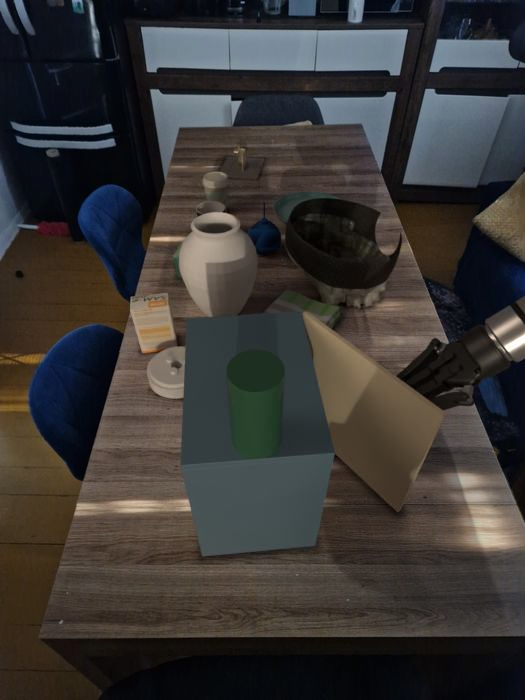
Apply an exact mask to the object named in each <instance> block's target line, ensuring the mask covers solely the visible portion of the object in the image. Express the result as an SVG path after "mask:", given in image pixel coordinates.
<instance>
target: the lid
mask: <svg viewBox="0 0 525 700" xmlns="http://www.w3.org/2000/svg"><path fill="white" fill-rule="evenodd" d="M184 369H185V346H184V345H183V346H181V345H180V346H177V347H172V348H168V349H165V350H163V351H158V353H156V354H155V355H154V356H153V357H152V358H151V359H150V360H149V362H148V364H147V366H146V376H147V379H148V385H149V386H150V388H151V390H152V391H153V392H154V393H155V394H157V395H159V396H161V397H163V398H167V399H183V393H184Z"/></svg>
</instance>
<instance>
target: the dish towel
mask: <svg viewBox="0 0 525 700" xmlns="http://www.w3.org/2000/svg"><path fill="white" fill-rule="evenodd" d="M306 311H307V312H309V313H310V314H311V315H313V316H314V317H315V318H317V319H318V320H320V321H321V322H322V323H324V324H325V325H326V326H328V327H329V328H331V329H333V327H334V326H335V324H336V323H337V322H338V320H339V319H340V318H341V316H342V311H341V307H340V306H339V305H338V306H334V305H329V304H325V302H322V301H318V300H315V299H312V298H310V297H308V296H305V295H304V294H302V293H299V292H296V291H293V290H284V291H283V292H282V293H281V294H280V295H279V296H278V297H277V298H276V299H275V300H274V301H273V302H271V304H270V305H269V306H268V307H267V308H266V309H265V310H264V311H263V312H262V313H261V314H270V313H287V312H301V314H302V318H303V313H304V312H306Z"/></svg>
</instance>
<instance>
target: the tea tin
mask: <svg viewBox="0 0 525 700" xmlns="http://www.w3.org/2000/svg"><path fill="white" fill-rule="evenodd" d="M226 377H227V389H228V401H229V413H230V426H231V438H232V444H233V446H234V448H235V450H236V451H237V452H238V453H239V454H241V455H242V456H244V457H247V458H250V459H262V458H266V457H268V456H270V455H272V454H273V453H274V452H275V451H276V450H277V449H278V448H279V446H280V443H281V435H282V417H283V399H284V380H285V367H284V364H283V362H282V361H281V360H280V359H279V358H278V357H277V356H276V355H274V354H273V353H271V352H268V351H264V350H247V351H244V352H241V353H239V354H237V355H236V356H234V357H233V358H232V359H231V360H230V361H229V363H228V365H227V368H226Z"/></svg>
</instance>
